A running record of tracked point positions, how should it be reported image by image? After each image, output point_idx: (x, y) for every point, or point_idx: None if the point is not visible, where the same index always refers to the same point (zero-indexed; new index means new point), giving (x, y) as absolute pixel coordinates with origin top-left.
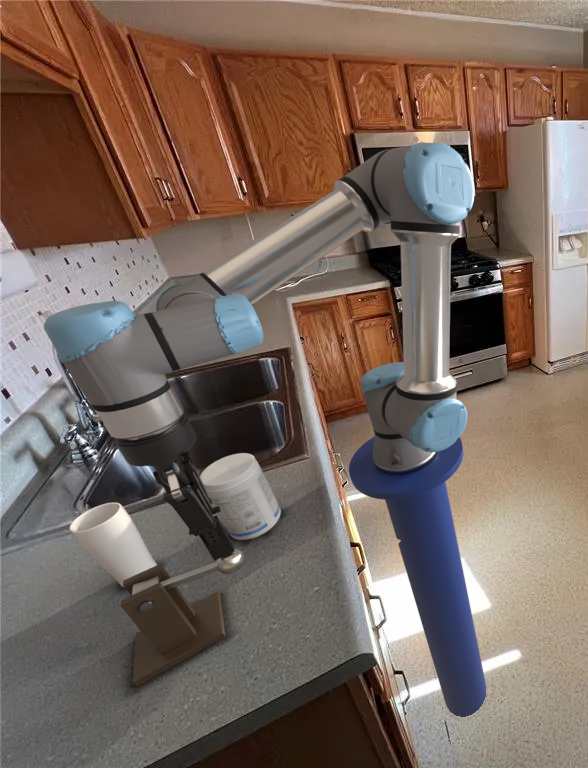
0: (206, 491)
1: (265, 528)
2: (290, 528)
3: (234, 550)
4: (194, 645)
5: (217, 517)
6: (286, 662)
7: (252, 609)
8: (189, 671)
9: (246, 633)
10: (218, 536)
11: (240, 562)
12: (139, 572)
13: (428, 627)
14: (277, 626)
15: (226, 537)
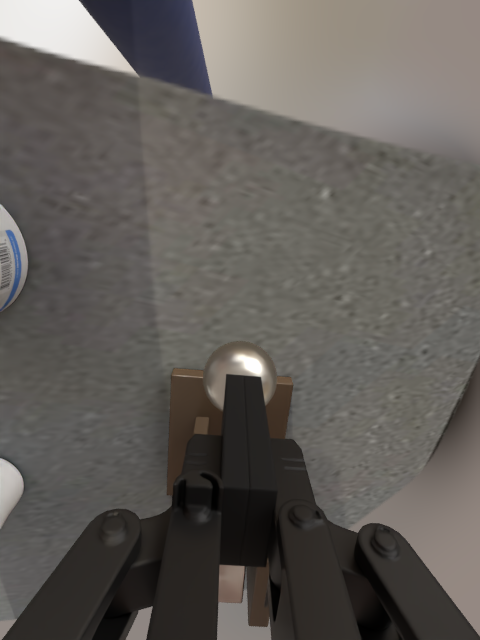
0: (61, 594)
1: (17, 238)
2: (50, 177)
3: (256, 376)
4: (280, 425)
5: (235, 482)
6: (444, 303)
7: (264, 324)
8: (312, 431)
9: (315, 346)
10: (302, 463)
11: (270, 357)
12: (4, 496)
13: (172, 75)
14: (351, 295)
15: (266, 417)
